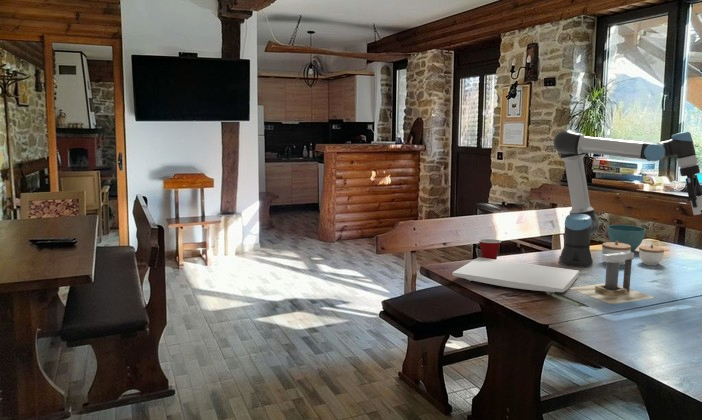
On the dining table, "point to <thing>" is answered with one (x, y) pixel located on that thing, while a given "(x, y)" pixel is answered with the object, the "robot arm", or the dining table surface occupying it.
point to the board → (518, 275)
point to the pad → (568, 300)
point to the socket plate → (617, 295)
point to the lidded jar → (651, 254)
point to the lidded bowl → (615, 249)
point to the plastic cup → (489, 248)
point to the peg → (612, 275)
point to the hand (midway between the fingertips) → (699, 212)
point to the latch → (618, 256)
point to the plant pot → (626, 235)
